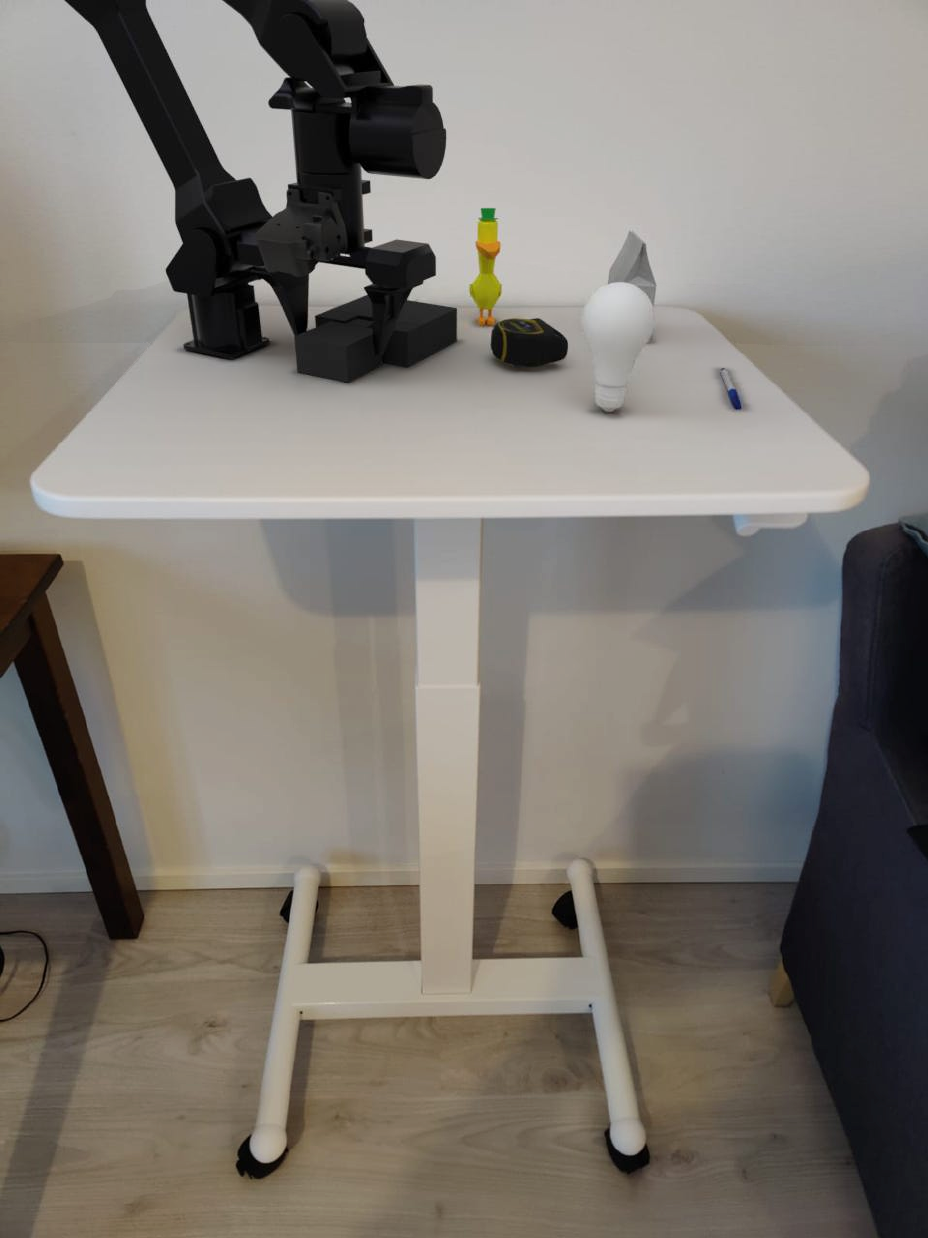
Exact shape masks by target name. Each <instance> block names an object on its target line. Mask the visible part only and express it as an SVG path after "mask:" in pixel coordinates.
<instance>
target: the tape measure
mask: <svg viewBox="0 0 928 1238" xmlns="http://www.w3.org/2000/svg"><path fill="white" fill-rule="evenodd" d="M568 350H569V341H568V339H567V338H566V337H565V335H564V334H563V333H561V332H560V331H559V330H557V329H555V328H554V327H553V326H551V325H550V324H549V323H547V322H545V320H543V319H542V318H540V317H535V318H530V319H528V318H527V319H526V318H518V317H517V318H515V317H513V318H507V319H502V320H500V321H498V322H496V323H495V324H494V326H493V329H492V330H491V335H490V351H492V352H491V353H492V355H493V357H494V358H496V359H497V360H498V361H499V362H502V363H504V364H507V365H510V366H513V368H520V367H526V368H529V367H532V368H533V367H540V366H545V365H549V364H553V363H557V362H561V361H562V360H565V358H566V357H567V356H568Z"/></svg>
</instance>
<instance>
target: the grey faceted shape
mask: <svg viewBox="0 0 928 1238" xmlns="http://www.w3.org/2000/svg"><path fill="white" fill-rule="evenodd" d="M616 282H625V283H629V284H633V285H635V286H636V287H638V288H640V289H641V290H642V291H643V292H645V293H646V295H647V296H648V297H649V299H650V301H651V303H652V305H653V308H655V300H656V291H657V283H656V280H655V277H654V273H653V271H652V268H651V265H650V261H649V257H648V251H647V244H646V242H644V240H642V238H641V237H639V236H638V235H637V233H635V232H634V231H633V230H628V233H627V236H626V239H625V240H624V242H623V245H622V247H621V248H620V251H619V252H618V254H617V256H616V257H615V259H614V260H613V263H612V265H611V266H610V268H609V269H608V278H607V285H608V284H610V283H616ZM650 340H651V337H650V338H649V340H648V341H647V343H646V344H649V343H650Z"/></svg>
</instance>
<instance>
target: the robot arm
mask: <svg viewBox="0 0 928 1238" xmlns="http://www.w3.org/2000/svg"><path fill="white" fill-rule="evenodd" d="M63 1H64V2H65V3H66V4H67V5H69V7H71V8H72V9H73V10H74V11H75V12H76V13H77V14H78V15H79V16H81V17H82V18H83V19H84V20H85V21H86V22H87V23H88V24H90V25H91V26H92V28H94V30H95V32H96V33H97V35H98V37H99V39H100V41H101V43H102V45H103V47H104V49H105V51H106V53H107V55H108V57H109V59H110V61H111V63H112V65H113V67H114V69H115V72H116V73H117V75H118V77H119V79H120V81H121V84H122V86H123V88H124V89H125V91H126V93H127V95H128V98H129V99H130V101H131V103H132V105H133V107H134V109H135V111H136V113H137V115H138V117H139V120H140V121H141V123H142V125H143V127H144V130H145V131H146V133H147V136H148V137H149V139H150V142H151V143H152V145H153V147H154V150H155V151H156V153H157V156H158V157H159V159H160V161H161V163H162V166H163V167H164V169H165V172H166V173H167V175H168V177H169V179H170V181H171V183H172V186H173V188H174V223H175V227H176V229H177V231H178V235H179V237H180V240H181V242H182V244H181V245H180V247H179V248H178V250H177V251H176V253H175V254H174V256H173V257H172V259H171V260H170V262H169V264H168V265H167V266H166V267H165V274H166V276H167V279H168V282H169V284H170V286H171V288H172V291H173V292H175V293H181V294H186V297H187V298H186V299H187V304H188V310H189V311H188V312H189V318H190V325H191V330H192V338H193V339H192V340H189V341H187V342H185V343H183V344H182V346H183V349H184V350H188V351H191V352H196V353H201V354H206V355H210V356H216V357H220V358H225V359H234V358H237V357H240V356H242V355H244V354H247V353H249V352H252V351H253V350H256V349H258V348H261V347H264V346H266V345H268V344H270V343H271V339H270V337H268V336H263V332H262V325H261V324H262V323H261V315H260V314H261V313H260V304H259V302H258V301H256V292H255V285H253V284H250V283H252V282H255V281H261V280H264V281H265V282H266V283H267V284H268V285H269V286H270V287H271V289H272V291H273V292H274V294H275V296H276V298H277V300H278V302H279V304H280V306H281V308H282V311H283V312H284V316H285V317H286V319H287V322H288V324H289V326H290V327H289V328H290V329H291V331H292V333H293V335H294V336H297V335H299V334H301V333H304V332H306V331H308V326H309V294H310V291H309V290H310V274H312V273H313V272H314V271H315V269H316V267H317V265H318V264H327V265H328V264H329V265H333V266H334V265H335V266H341V267H348V268H355V269H362V270H364V274H365V276H366V277H367V278H368V279H369V281H370V282H371V284H368V285H366V286H363V290H364V292H365V293H366V295H368V296H369V298H370V300H371V302H372V323H373V344H374V351H375V355H376V356H381V355H383V354H384V353H385V350H386V348H387V345H388V343H389V340H390V338H391V335H392V333H393V330H394V328H395V325H396V323H397V320H398V318H399V315H400V313H401V310H402V308H403V306H404V304H405V303H406V301H407V300H409V298H410V295H411V293H412V291H413V289H414V288H417V287H419V286H421V285H424V281H426V280H429V279H431V278H434V277H436V276H437V256H436V254H435V252H434V250H433V249H432V246H431V245H430V244H429V243H427V242H419V241H412V240H405V239H398V238H397V239H396V238H395V239H394V240H390V241H388V242H385V243H382V244H381V243H380V244H378V245H375V246H373V247H370V246H366V244H368V243H370V242H373V240H374V239H373V229H369V228H365V218H364V198H363V197H364V196H363V195H369V194H371V192H372V191H371V189H372V188H371V180H369V179H368V180H367V179H363V176H362V175H363V172H362V170H363V171H365V172H366V173H367V174H370V175H377V176H379V175H380V176H388V177H389V176H390V177H399V178H400V177H401V178H411V179H419V180H431V179H433V178H435V177H436V176H437V174H438V173H439V171H440V169H441V167H442V165H443V162H444V159H445V154H446V149H447V129H446V128H445V126H444V120H443V117H442V113H441V111H440V109H439V107H438V105H437V104H436V103H435V102H434V88H433V86H432V85H431V84H411V85H405V86H402V85H395V84H394V82H393V80H392V78H391V77H390V75H389V74H388V71H387V69H386V68H385V67H384V64H383V63H382V61H381V59H380V58H379V56H378V54H377V52H376V51H375V49H374V47H373V45H372V44H371V41H370V40H369V38H368V35H367V34H368V33H367V30H366V26H365V17H364V15H363V14H362V12H361V11H360V10H359V8H358V7H357V5H355V4H354V3H353V2H351V1H349V0H221V1H222V2H223V3H225V4H226V5H228V7H230V8H231V9H232V10H234V11H235V12H237V13H238V14H239V15H240V16H241V17H242V18H243V19H244V20H245V21H246V23H248V24H249V26H251V29H252V31H253V33H254V35H255V37H256V40H257V42H258V44H259V46H260V47H261V48H262V50H263V51H264V52H265V53H266V54H267V55H268V56H269V57H270V58H271V59H272V61H273V62H274V63H275V64H276V65H277V66H278V67H279V68H280V69H281V70H282V71H283V73H285V74H286V75H287V77H284V78H283V81H282V83H281V85H280V87H279V88H278V89H277V90H276V91H275V93H274V94H273V95H271V97H270V98H269V99H268V101H267V104H268V107H269V108H270V109H273V110H284V111H285V110H286V111H290V114H291V126H292V127H291V129H292V138H293V140H292V141H293V151H294V152H293V153H294V164H295V165H294V166H295V176H296V178H295V179H296V181H295V182H291V183H288V184H287V190H286V205H285V208H283V210H281V211H278V212H277V213H275V214H274V215H272V214H271V213H270V212H269V211H268V210H267V208H266V206H265V205H264V203H263V199H262V198H261V194H260V191H259V189H258V186H257V184H256V183H255V181H254V180H253V178H252V177H246V178H241V179H236V178H235V177H234V176H233V175H231V173H229V172H228V171H227V170H226V169H225V168H224V166H223V165H222V163H221V161H220V159H219V157H218V155H217V153H216V150H215V148H214V146H213V145H212V144H213V143H212V142H211V140H210V138H209V136H208V133H207V132H206V130H205V128H204V125H203V123H202V122H201V121H202V120H200V117H199V115H198V113H197V111H196V109H195V106H194V105H193V103H192V101H191V100H192V99H191V98H190V97H189V94H188V92H187V90H186V88H185V86H184V84H183V81H182V80H181V77H180V75H179V73H178V71H177V69H176V67H175V65H174V63H173V60H172V59H171V57H170V54H169V52H168V50H167V48H166V46H165V44H164V42H163V39H162V38H161V35H160V33H159V32H158V30H157V28H156V25H155V23H154V20H153V19H152V17H151V15H150V12H149V10H148V7H147V0H63ZM348 98H349V99H350V102H348V101H346V100H345V99H348Z"/></svg>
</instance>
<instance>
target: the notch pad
mask: <svg viewBox="0 0 928 1238" xmlns="http://www.w3.org/2000/svg"><path fill="white" fill-rule="evenodd" d="M356 319H360V320H366V321H372V302H371V300H370V298H369V296H368V295H367V294H366V295H363V296H361V297H358V298H356V299H353V300H351V301H349V302H346V303H343V304H341V305H337V306H336V307H333V308H331V309H329V310H326V311H323V312H321V313H319V314H316V315H314V321H315V328H316V327H318V326H320V325H323V324H325V323H328V322H330V321H332V322H338V323H344V324H346V323H349V322H351V321H353V320H356ZM457 341H458V308H457V307H454V306H453V307H452V306H446V305H441V304H435V303H434V304H433V303H430V302H429V303H428V302H422V301H416V300H409V299H407V301H406V303H405V304H404V306H403V308H402V310H401V313H400V315H399V318H398V320H397V323H396V325H395V328H394V330H393V333H392V335H391V338H390V340H389V343H388V345H387V348H386V350H385V353H384V354H383V355H382V364H384V363H385V364H388V365H393V366H398V367H403V368H409V367H412V366H414V365H415V364H417V363H419V362H421V361H422V360H425V359H426V358H429V357H430V356H432V355H434V354H436V353H438V352H440V351H441V350H443V349H445V348H447V347H449V346H451V345H453V344H455V343H457Z"/></svg>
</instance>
